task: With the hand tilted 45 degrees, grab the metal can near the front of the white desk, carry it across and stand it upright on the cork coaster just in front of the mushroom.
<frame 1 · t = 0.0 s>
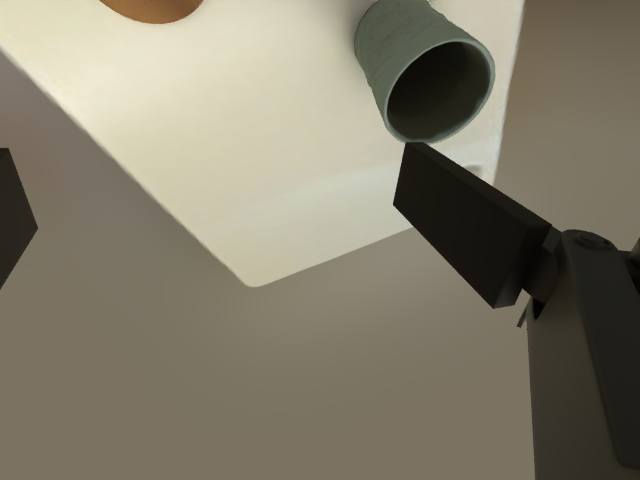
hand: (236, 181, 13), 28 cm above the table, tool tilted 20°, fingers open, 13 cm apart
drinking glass: (390, 35, 40), on the table
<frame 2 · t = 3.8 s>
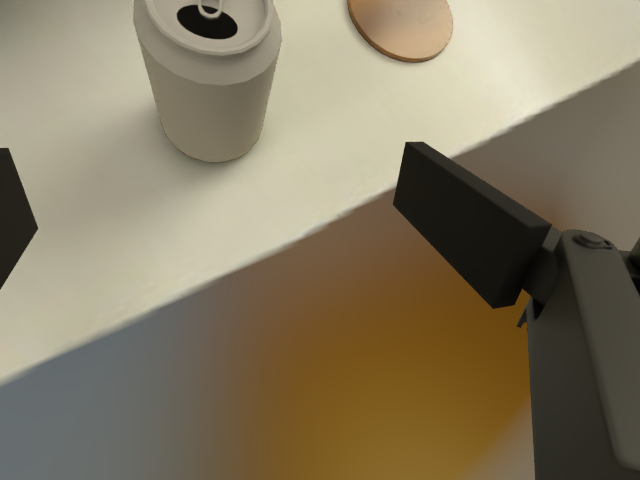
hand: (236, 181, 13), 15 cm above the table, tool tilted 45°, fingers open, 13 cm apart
coaster: (400, 12, 37), on the table
can: (213, 123, 30), on the table
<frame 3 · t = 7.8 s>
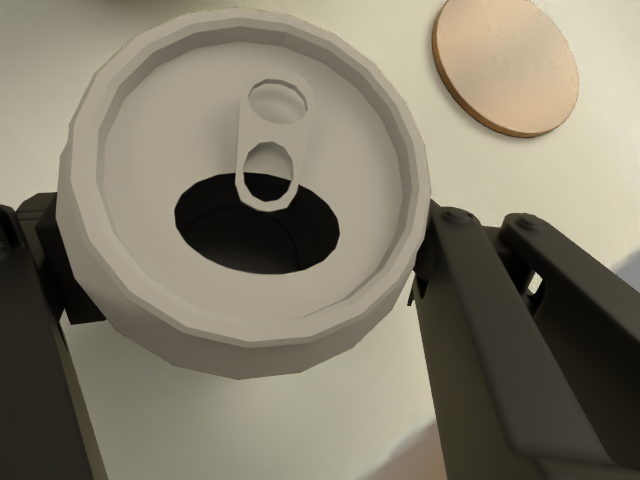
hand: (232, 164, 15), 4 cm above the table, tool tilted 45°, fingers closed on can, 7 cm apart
coaster: (505, 61, 25), on the table
can: (236, 267, 18), on the table, touching gripper
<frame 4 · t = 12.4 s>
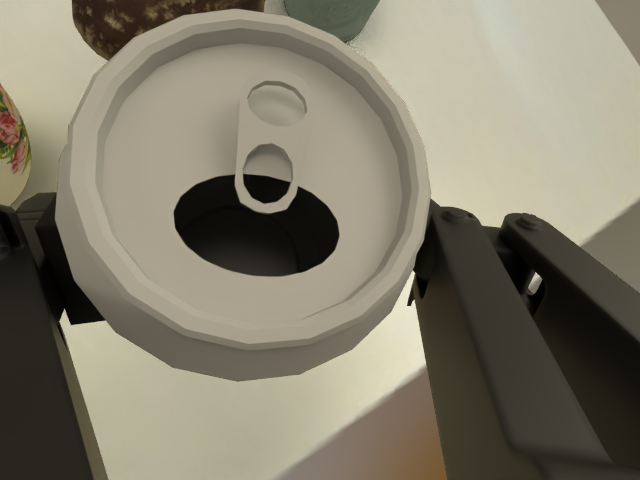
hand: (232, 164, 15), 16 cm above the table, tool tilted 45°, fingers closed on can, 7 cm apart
mushroom: (189, 115, 31), on the table
can: (236, 268, 18), point 12 cm above the table, touching gripper
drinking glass: (325, 9, 37), on the table
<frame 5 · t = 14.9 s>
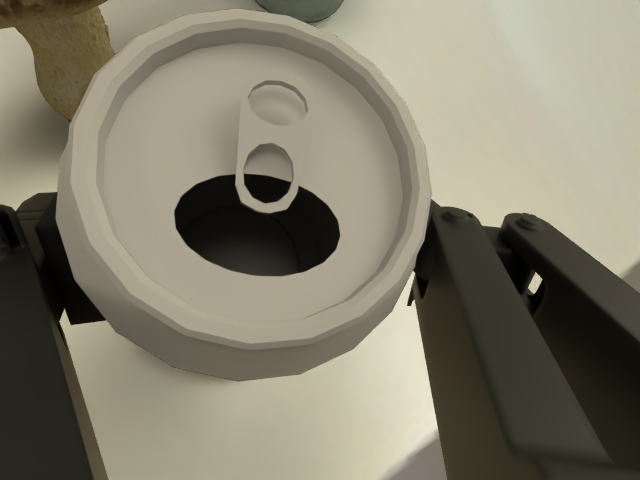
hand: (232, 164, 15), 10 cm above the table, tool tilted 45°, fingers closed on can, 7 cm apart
mushroom: (100, 113, 23), on the table
can: (236, 267, 18), point 6 cm above the table, touching gripper
when the fingers open (4 cm above the table, at t = 16.8 s): can stays where it is, resting on coaster.
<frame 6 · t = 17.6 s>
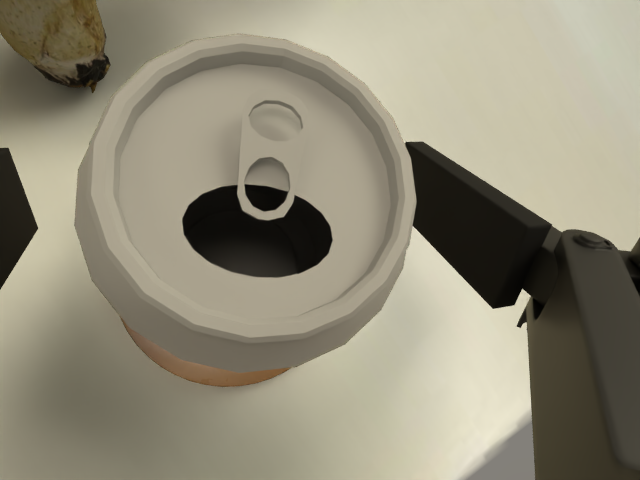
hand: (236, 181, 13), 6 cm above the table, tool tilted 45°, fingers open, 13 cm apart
mushroom: (78, 65, 19), on the table
coaster: (237, 267, 19), on the table
can: (237, 268, 18), resting on coaster
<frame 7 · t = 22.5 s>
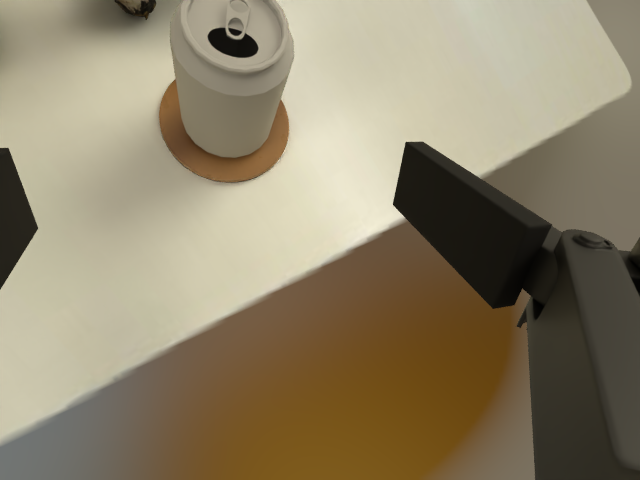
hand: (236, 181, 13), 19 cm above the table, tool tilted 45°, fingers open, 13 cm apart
mushroom: (136, 4, 33), on the table
coaster: (226, 123, 33), on the table
can: (227, 122, 33), resting on coaster
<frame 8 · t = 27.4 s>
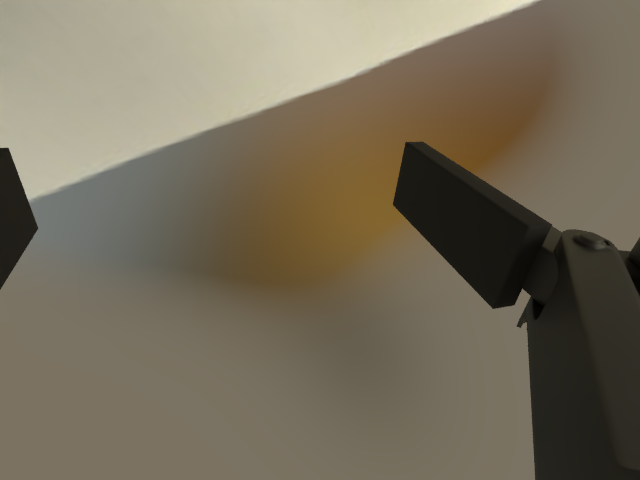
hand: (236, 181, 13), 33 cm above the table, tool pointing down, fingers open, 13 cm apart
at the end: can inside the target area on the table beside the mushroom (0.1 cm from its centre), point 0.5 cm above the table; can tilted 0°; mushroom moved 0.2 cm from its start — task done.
